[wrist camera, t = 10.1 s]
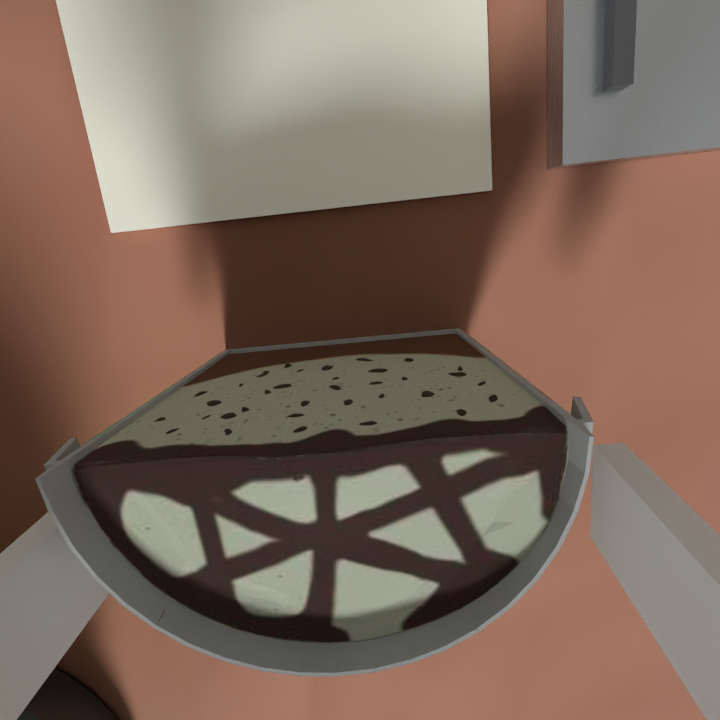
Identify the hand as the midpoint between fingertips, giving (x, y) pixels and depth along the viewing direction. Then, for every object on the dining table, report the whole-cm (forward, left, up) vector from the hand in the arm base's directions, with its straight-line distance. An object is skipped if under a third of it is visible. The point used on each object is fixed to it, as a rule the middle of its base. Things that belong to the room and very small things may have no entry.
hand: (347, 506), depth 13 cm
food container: (0, 0, -7) cm, 7 cm away
